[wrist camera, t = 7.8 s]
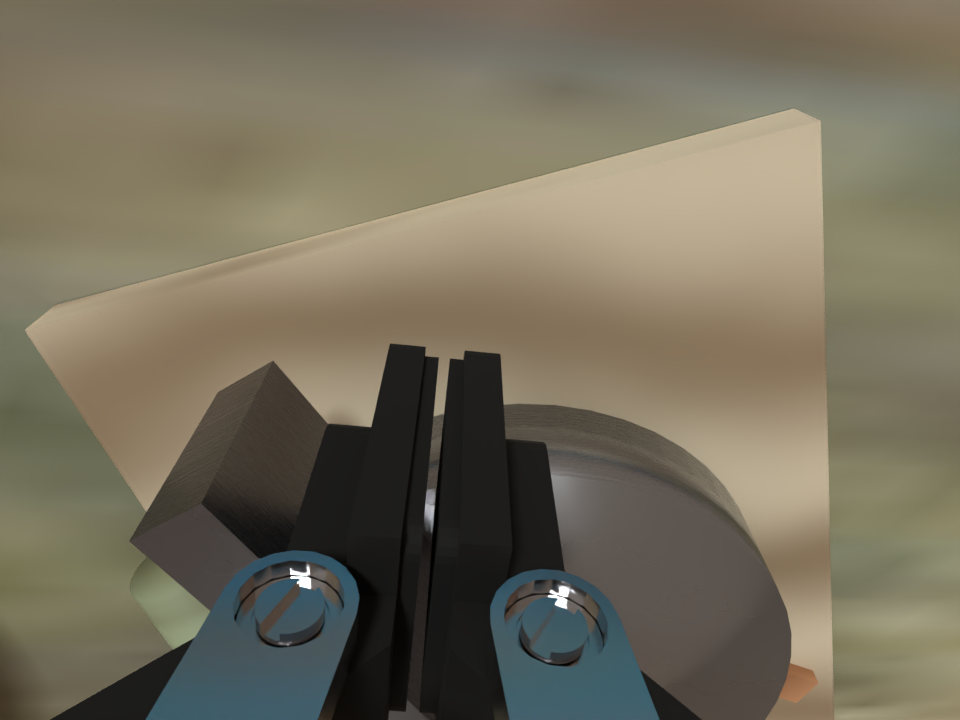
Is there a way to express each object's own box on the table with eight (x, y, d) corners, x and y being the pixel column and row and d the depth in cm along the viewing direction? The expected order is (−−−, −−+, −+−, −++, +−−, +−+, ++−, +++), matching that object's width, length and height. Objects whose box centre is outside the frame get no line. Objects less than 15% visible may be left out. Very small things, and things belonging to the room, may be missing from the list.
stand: (818, 718, 23) (866, 825, 20) (354, 792, 25) (339, 899, 22) (793, 108, 13) (880, 149, 11) (43, 308, 15) (-56, 387, 13)
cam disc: (857, 530, 17) (1026, 781, 12) (583, 778, 22) (615, 1027, 17) (288, 254, 13) (170, 441, 8) (121, 629, 18) (-16, 888, 13)
